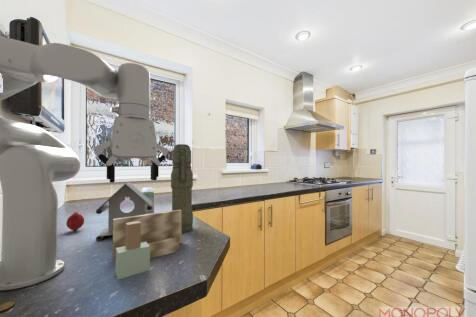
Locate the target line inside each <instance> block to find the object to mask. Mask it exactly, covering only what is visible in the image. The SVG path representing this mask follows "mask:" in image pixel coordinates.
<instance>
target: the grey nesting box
mask: <svg viewBox="0 0 476 317" xmlns="http://www.w3.org/2000/svg"><path fill="white" fill-rule="evenodd" d="M126 197H127V198H129V200H130V201H131V202H133V205H134V207H133V209H132V210H131V211H129V212H124V211H122V209H121V204H122V203H123V202H124V201H125V200H126ZM145 201H146V202H147V203H148V206H147V210H151V209H152V207H153V202H152V201H151V200H150V199H149V198H147V197H146V196H145V195H144V194H143V193H142V190H140V189H138V187H136V186H135V185H134V184H133V183H131V182H130V181H128V182H126V183H124V184H123V185H122V186H121V187H120V188H119V189H118V190H116V191H115V192H114V194H112V195H111V196H110V197H109V198H107V200H106V201H105V202H103V204H102V205H100V206H99V207H98V208H97V209H96V210H95V214H96V215H101V214H102V213H103V212H105V211H106V210H108V218H107V219H108V222H107V223H108V224H107V225H108V228H104V229H103V230H101V232H100V233H99V234H98V235H97V236H96V237H95V241H96V242H100V241H102V240H103V238H105V236H106V237H107V236H113V219H116V218H123V217H131V216H138V215H145ZM107 203H108V204H107Z"/></svg>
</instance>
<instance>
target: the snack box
mask: <svg viewBox="0 0 476 317" xmlns="http://www.w3.org/2000/svg"><path fill="white" fill-rule="evenodd" d="M141 192H142V193H143V194H144V195H145V196H146V197H147V198H149V199H150V200H151V201H152V202H153V207H152V209H151V210H147V206H148V203H147V202H146V201H145V214H152V213H155V195H154V187H152V186H148V187H147V186H146V187H142V190H141Z"/></svg>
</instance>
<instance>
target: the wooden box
mask: <svg viewBox="0 0 476 317" xmlns="http://www.w3.org/2000/svg"><path fill="white" fill-rule="evenodd" d="M135 221H139V222H140V223H141V243H142V242H147V243H148V245H149V246H150V260H151V259H154V258H159V257H162V256H166V255H169V254H174V253H177V252H178V251H179V250H180V244H182V210H173V211H172V210H168V211H161V212H154V213H152V214H145V215H138V216H131V217H123V218H116V219H113V235H112V259H113V260H116V248H118V247H123V246H125V244H126V223H128V222H135Z"/></svg>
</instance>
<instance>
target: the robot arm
mask: <svg viewBox="0 0 476 317" xmlns="http://www.w3.org/2000/svg"><path fill="white" fill-rule="evenodd" d="M0 73H1V74H2V78H3V93H0V101H3V100H5V99H8V98H10V97H12V96H13V95H15V94H17V93H20V92H22V91H25V90H26V89H28V88H31V87H32V86H35V85H36V84H37V83H39V82H40V83H44V84H45V83H46V84H47V83H48V84H50V83H53V82H54V81H56V80H57V79H58V78H59V79H64V80H68V81H71V82H75V83H78V84H80V85H82V86H83V87H86V88H87V89H89V90H91V91H92V92H94V93H96V94H97V95H99V96H101V97H102V98H105V99H109V100H110V99H112V100H114V99H117V105H116V106H110V113H114V114H115V115H116V116H114V119H113V121H112V122H113V123H112V129H111V136H110V140H108V141H105V142H103V143H99V144H98V145H95V146H93V147H92V151H93V153H94V154H95V155H96V157H97V158H98V160H100V161H101V162H102V163H103V164H104V165H105V166H106V180H109V183H110V184H112V183H115V181H116V180H115V177H116V169H115V168H116V166H115V165H114V163H115V162H116V161H117V160H118V159H147V160H148V161H149V162H151V165H150V181H158V177H159V166H160V165H161V163H163V161H165V159H166V157H167V155H168V153H169V149H168V148H166V147H165V146H162V145H161V144H158V143H157V132H156V126H155V123H154V122H155V121H154V120H152V119H151V73H150V71H149V70H148V69H147V68H146V67H145V66H143V65H141V64H138V63H134V62H125V63H121V64H120V65H119V66H118V69H117V70H116V69H115V68H114V67H112V66H111V65H110V64H108V63H107V62H106V61H105V60H103V59H102V58H101V57H100V56H99V55H97V54H96V53H94V52H92V51H88V50H86V49H82V48H79V47H77V46H72V45H69V44H65V43H60V42H52V43H51V42H50V43H46V44H42V45H38V44H35V43H34V44H33V43H30V42H27V41H22V40H18V39H14V38H11V37H10V38H9V37H7V36H3V35H0ZM109 147H110V154H111V156H110V157H107V156H106V155H104V153H103V150H105V149H107V148H109ZM158 151H159V152H160V155H159V156H158V157H157V154H158V153H157V152H158ZM80 169H81V161H80V158H79V157H78V155H77V154H76V152H74V150H72V149H71V148H70V147H68V146H67V145H66V144H65V143H63V142H62V141H60V140H59V139H58V138H57V137H55V136H54V135H53V134H51V133H50V132H48V131H47V130H45V129H44V128H41V126H37V125H34V124H32V123H31V124H30V123H27V122H21V121H18V120H14V119H9V118H6V117H5V116H3V115H1V114H0V185H1V192H2V193H1V194H2V222H1V223H2V230H1V255H0V256H1V258H0V291H9V290H16V289H22V288H26V287H29V286H33V285H36V284H39V283H42V282H44V281H47V280H48V279H51V278H53V277H55V276H57V275H58V274H60V273H61V272H62V271H63V270H64V269H65V261H64V260H62V259H57V258H58V219H59V217H58V216H59V215H58V214H59V213H58V211H59V204H58V202H59V199H58V194H57V190H56V189H55V187H54V183H55V182H56V183H57V182H64V181H68V180H70V179H72V178H74V177H75V176H76V175H78V173H79V171H80ZM53 182H54V183H53Z"/></svg>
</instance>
